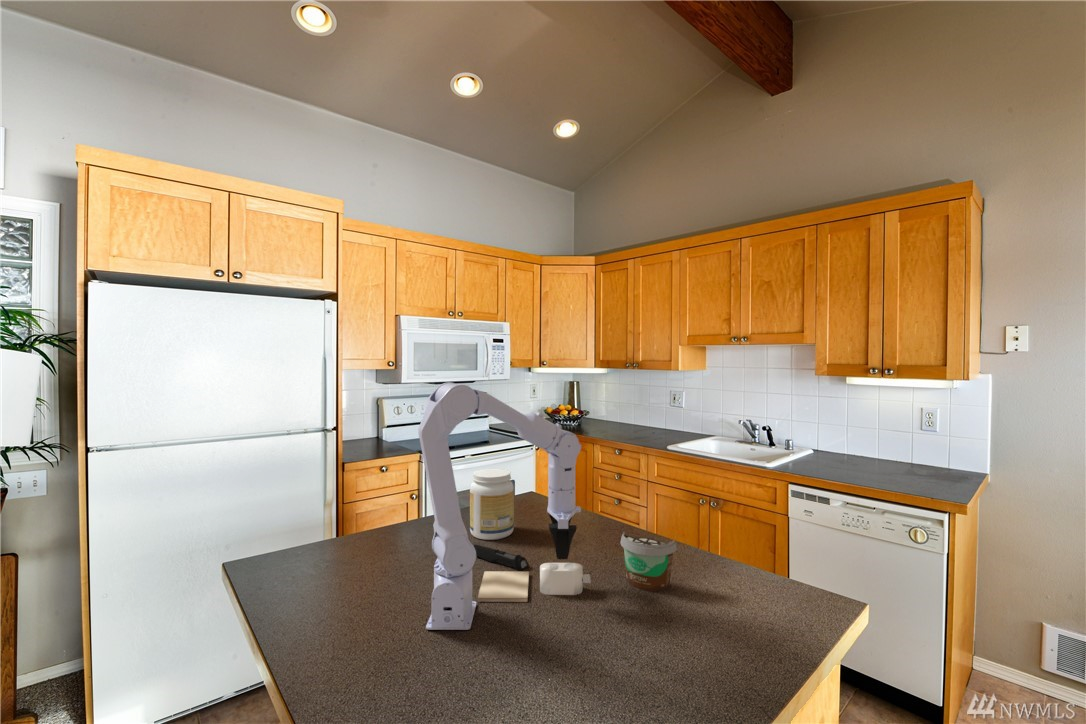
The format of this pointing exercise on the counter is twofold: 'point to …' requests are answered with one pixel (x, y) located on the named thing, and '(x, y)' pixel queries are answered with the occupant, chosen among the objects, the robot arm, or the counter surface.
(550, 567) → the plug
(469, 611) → the robot arm
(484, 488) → the supplement tub
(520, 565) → the electric trimmer
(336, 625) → the counter surface
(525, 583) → the cutting board
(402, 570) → the counter surface
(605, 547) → the counter surface
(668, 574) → the food container
